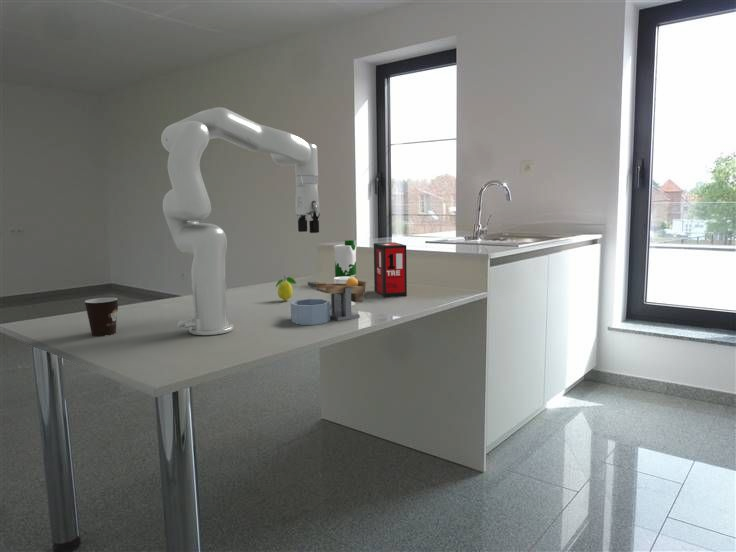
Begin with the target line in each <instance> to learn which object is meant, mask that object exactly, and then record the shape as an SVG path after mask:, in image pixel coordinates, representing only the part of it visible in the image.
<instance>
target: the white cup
mask: <svg viewBox="0 0 736 552" xmlns="http://www.w3.org/2000/svg"><path fill="white" fill-rule="evenodd" d="M349 278H351V277H350V276H342V277H333V283H339V284H346V281H347V280H348V279H349ZM354 278H355V277H354ZM355 304H356V302H352V301H351V307H353V306H355Z"/></svg>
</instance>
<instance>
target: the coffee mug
mask: <svg viewBox="0 0 736 552" xmlns="http://www.w3.org/2000/svg"><path fill="white" fill-rule="evenodd" d="M84 304H85V310H86V313H87V317H88V318H87V319H88V322H89V328H90V333H91V336H92V337H106V336H105V335H108V336H112V335H115V334H116V333H117V318H118V309H119V304H118V298H117V297H99V298H92V299H86V300H84ZM114 333H115V334H114ZM111 334H112V335H111Z"/></svg>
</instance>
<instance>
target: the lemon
mask: <svg viewBox="0 0 736 552" xmlns="http://www.w3.org/2000/svg"><path fill="white" fill-rule="evenodd" d="M283 276H284V278H283V279H280V280H278V281H277V283H276V285H275V288H277V287H278V288H277V294H278V295H277V296H278V297H279V299H282V300H284V301H285V302H287V300H289V299H291V298H292V296H293V293H294V292H293V287H292V285H296V284H297V282H296V280H295V279H294V278H293V277H286V276H285V275H283ZM291 284H292V285H291Z"/></svg>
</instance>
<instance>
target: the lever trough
mask: <svg viewBox="0 0 736 552" xmlns="http://www.w3.org/2000/svg"><path fill="white" fill-rule="evenodd" d="M357 280H358V286H347V285H346V284H339V283H334V282H333V283H331V282H329V283H328V282H327V283H324V282H323V283H322V282H317V281H308V282H307V286H308V287H313V288H315V291H317V292H321V293H323V294H331V293H344V288H351V301H352V302H355V303H364V296H365V295H364V294H366V286H367V285H366V284H367V281H365V280H360V279H357Z"/></svg>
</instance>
